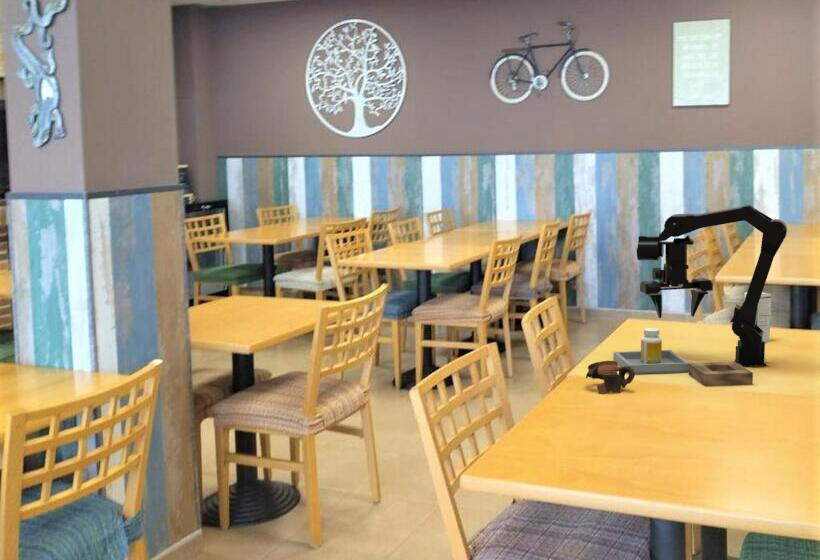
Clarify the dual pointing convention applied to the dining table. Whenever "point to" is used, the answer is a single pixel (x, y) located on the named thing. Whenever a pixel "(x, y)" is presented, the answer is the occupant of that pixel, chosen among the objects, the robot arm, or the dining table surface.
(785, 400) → the dining table surface
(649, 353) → the supplement bottle
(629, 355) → the tray
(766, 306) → the syrup box
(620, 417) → the dining table surface
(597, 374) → the pottery mug
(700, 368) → the sleeve block
